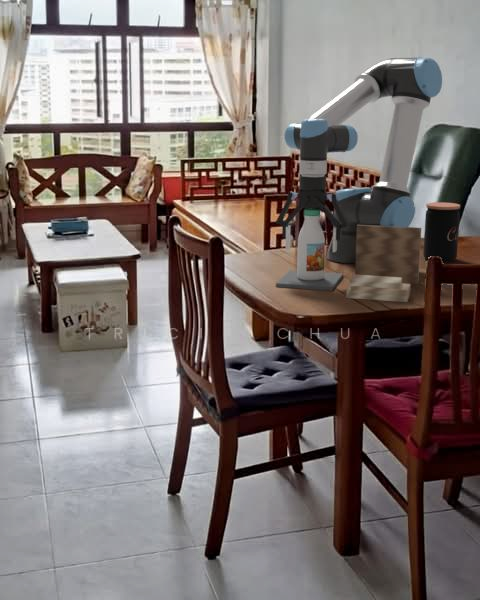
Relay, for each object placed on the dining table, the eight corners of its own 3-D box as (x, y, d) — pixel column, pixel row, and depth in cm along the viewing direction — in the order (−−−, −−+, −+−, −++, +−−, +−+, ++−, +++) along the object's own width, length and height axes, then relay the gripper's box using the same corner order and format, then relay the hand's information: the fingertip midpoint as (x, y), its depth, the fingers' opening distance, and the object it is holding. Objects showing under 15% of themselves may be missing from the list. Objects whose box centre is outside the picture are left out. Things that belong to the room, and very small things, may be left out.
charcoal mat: (275, 286, 236) (275, 283, 236) (290, 273, 253) (290, 270, 253) (332, 290, 232) (332, 287, 232) (342, 276, 249) (343, 273, 249)
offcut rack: (342, 297, 225) (344, 238, 221) (357, 276, 249) (359, 223, 245) (410, 302, 220) (414, 242, 216) (419, 280, 244) (422, 226, 240)
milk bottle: (295, 280, 239) (297, 210, 234) (298, 274, 247) (299, 206, 242) (322, 281, 238) (325, 211, 233) (324, 275, 245) (326, 207, 240)
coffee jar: (450, 264, 267) (454, 207, 263) (418, 260, 273) (421, 205, 268) (460, 258, 276) (464, 203, 272) (429, 255, 282) (432, 201, 277)
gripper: (266, 175, 235) (265, 250, 240) (355, 178, 228) (352, 255, 234) (272, 172, 242) (271, 245, 247) (359, 175, 235) (356, 250, 241)
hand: (311, 250), depth 240 cm, fingers open, 13 cm apart
